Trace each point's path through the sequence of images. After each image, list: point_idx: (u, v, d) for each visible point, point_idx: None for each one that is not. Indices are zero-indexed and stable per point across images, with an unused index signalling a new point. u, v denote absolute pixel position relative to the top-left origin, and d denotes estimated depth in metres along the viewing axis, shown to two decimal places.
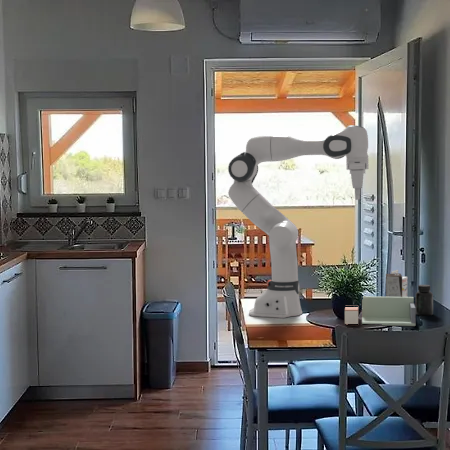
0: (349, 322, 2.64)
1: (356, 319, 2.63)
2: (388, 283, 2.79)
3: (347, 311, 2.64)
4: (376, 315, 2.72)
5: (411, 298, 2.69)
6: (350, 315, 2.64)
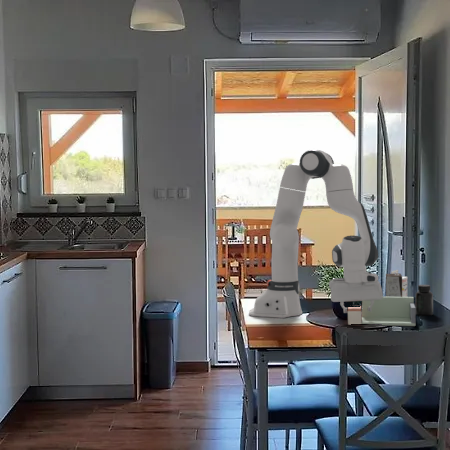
0: (352, 322, 2.64)
1: (360, 319, 2.63)
2: (388, 283, 2.79)
3: (350, 311, 2.64)
4: (376, 315, 2.72)
5: (411, 298, 2.69)
6: (353, 315, 2.63)
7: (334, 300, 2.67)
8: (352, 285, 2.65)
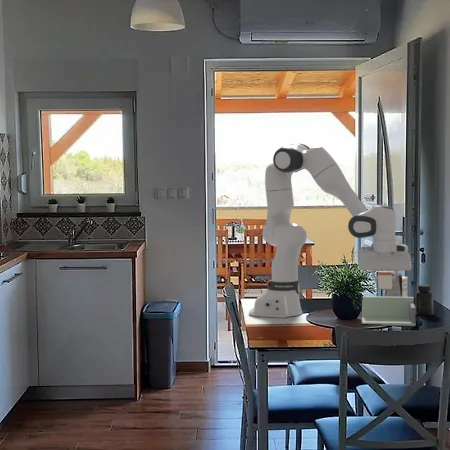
0: (383, 287, 2.62)
1: (390, 283, 2.61)
2: None
3: (381, 276, 2.61)
4: (376, 315, 2.72)
5: (411, 298, 2.69)
6: (384, 279, 2.61)
7: (362, 268, 2.65)
8: (381, 254, 2.62)
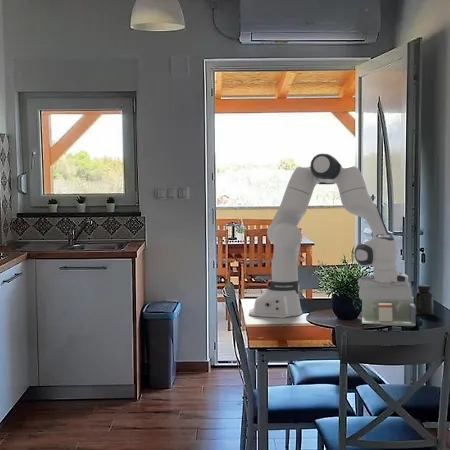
0: (383, 319, 2.63)
1: (391, 316, 2.62)
2: None
3: (381, 308, 2.63)
4: (376, 315, 2.72)
5: None
6: (384, 312, 2.62)
7: (362, 298, 2.66)
8: (381, 284, 2.63)
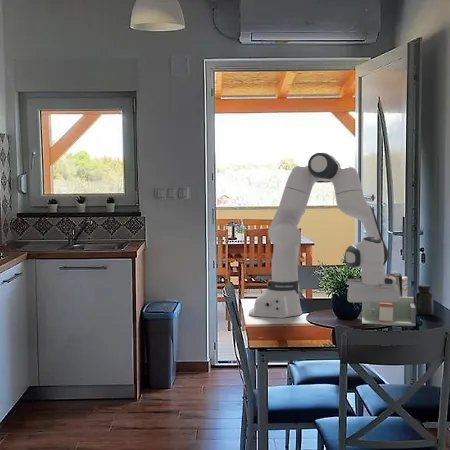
0: (383, 318, 2.63)
1: (391, 316, 2.62)
2: None
3: (382, 307, 2.62)
4: (376, 315, 2.72)
5: (411, 298, 2.69)
6: (385, 311, 2.62)
7: (350, 300, 2.67)
8: (369, 287, 2.64)
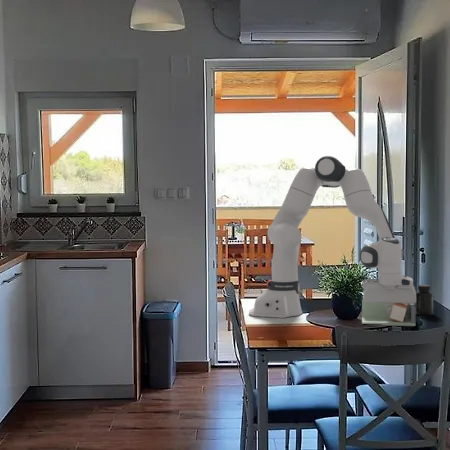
0: (394, 317, 2.62)
1: (403, 316, 2.61)
2: None
3: (395, 306, 2.61)
4: (376, 315, 2.72)
5: None
6: (397, 310, 2.61)
7: (366, 300, 2.66)
8: (386, 287, 2.63)
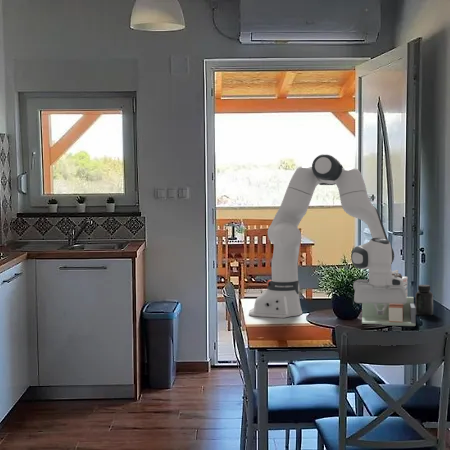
0: (393, 319, 2.62)
1: (401, 316, 2.61)
2: None
3: (391, 308, 2.62)
4: (376, 315, 2.72)
5: (411, 298, 2.69)
6: (394, 312, 2.62)
7: (357, 301, 2.67)
8: (376, 287, 2.64)
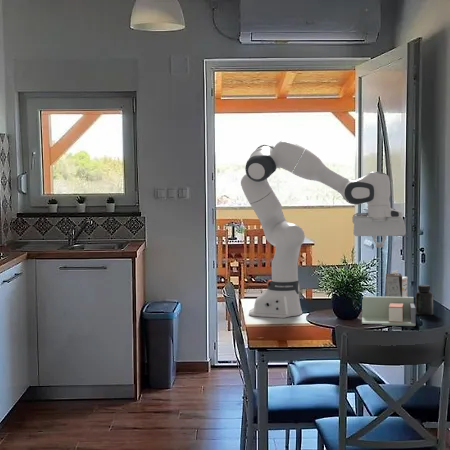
0: (393, 319, 2.62)
1: (401, 316, 2.61)
2: (388, 283, 2.79)
3: (391, 308, 2.62)
4: (376, 315, 2.72)
5: (411, 298, 2.69)
6: (394, 312, 2.62)
7: (356, 234, 2.69)
8: (375, 220, 2.66)
